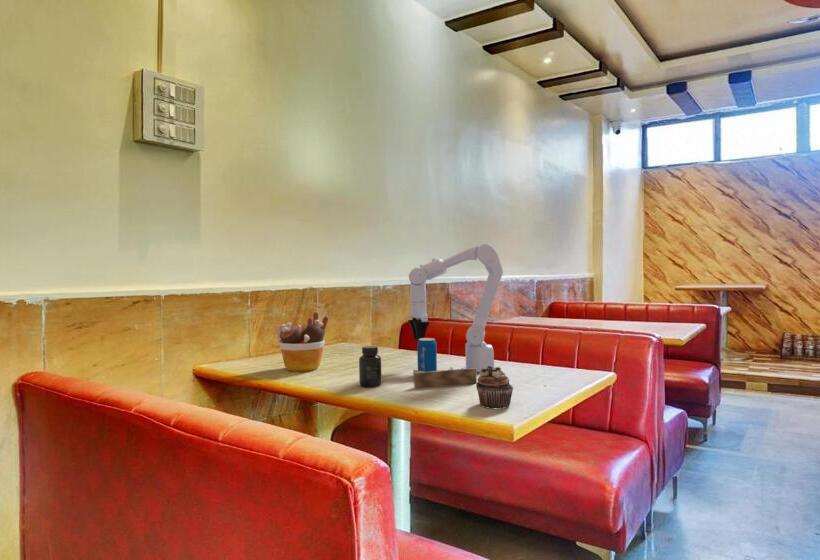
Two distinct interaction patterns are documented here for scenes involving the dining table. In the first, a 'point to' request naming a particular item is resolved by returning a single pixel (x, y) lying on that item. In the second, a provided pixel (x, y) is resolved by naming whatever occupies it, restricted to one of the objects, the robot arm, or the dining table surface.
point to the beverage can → (427, 354)
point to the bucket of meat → (302, 344)
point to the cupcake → (494, 388)
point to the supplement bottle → (370, 367)
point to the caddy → (444, 377)
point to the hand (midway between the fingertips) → (418, 340)
